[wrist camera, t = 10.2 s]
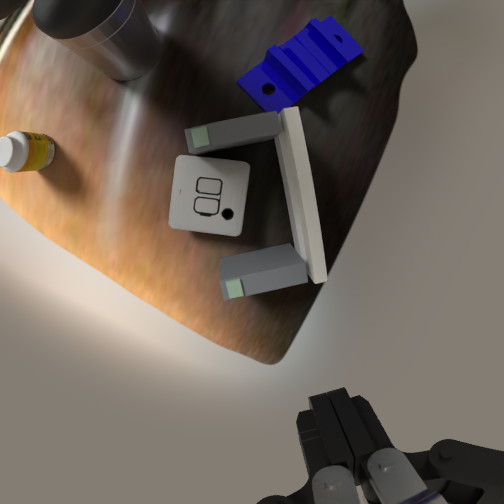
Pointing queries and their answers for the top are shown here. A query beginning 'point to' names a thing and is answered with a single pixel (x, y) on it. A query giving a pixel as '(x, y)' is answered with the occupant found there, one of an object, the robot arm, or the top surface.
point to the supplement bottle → (25, 151)
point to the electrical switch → (209, 195)
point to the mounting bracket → (299, 64)
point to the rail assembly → (297, 196)
